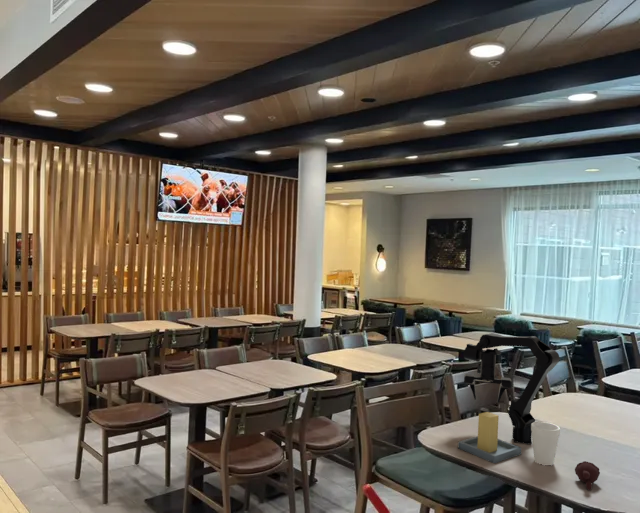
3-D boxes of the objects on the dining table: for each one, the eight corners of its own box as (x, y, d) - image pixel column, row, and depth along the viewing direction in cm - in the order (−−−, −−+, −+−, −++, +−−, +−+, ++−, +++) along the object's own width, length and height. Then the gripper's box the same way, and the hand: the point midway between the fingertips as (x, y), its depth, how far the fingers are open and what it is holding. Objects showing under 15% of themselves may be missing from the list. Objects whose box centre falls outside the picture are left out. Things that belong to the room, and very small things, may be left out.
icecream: (573, 452, 184) (571, 472, 170) (596, 451, 180) (597, 471, 167) (578, 472, 184) (577, 493, 170) (601, 471, 180) (602, 493, 167)
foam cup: (561, 469, 185) (562, 431, 185) (532, 466, 187) (534, 429, 187) (554, 458, 194) (556, 423, 194) (527, 455, 196) (529, 420, 196)
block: (485, 445, 202) (487, 411, 201) (497, 450, 198) (498, 415, 197) (477, 448, 199) (478, 413, 199) (488, 453, 195) (490, 417, 195)
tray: (485, 440, 210) (485, 434, 210) (521, 454, 197) (521, 447, 197) (458, 448, 201) (458, 441, 201) (494, 463, 188) (494, 456, 188)
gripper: (511, 362, 228) (509, 398, 228) (465, 357, 233) (464, 393, 234) (512, 367, 217) (510, 405, 217) (464, 363, 223) (463, 400, 223)
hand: (486, 400), depth 223 cm, fingers open, 9 cm apart
